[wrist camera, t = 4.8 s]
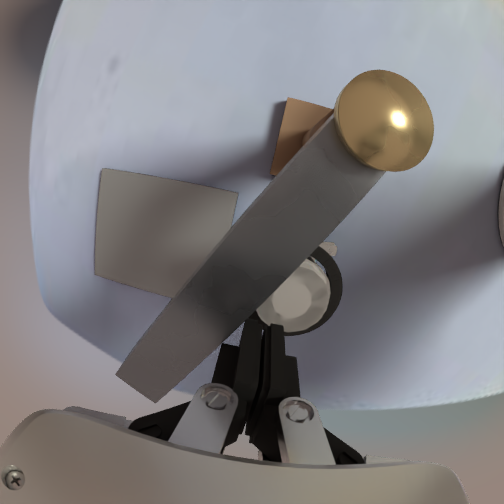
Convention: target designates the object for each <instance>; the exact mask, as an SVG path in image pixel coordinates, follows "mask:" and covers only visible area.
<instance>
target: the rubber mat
mask: <svg viewBox="0 0 504 504" xmlns="http://www.w3.org/2000/svg"><path fill="white" fill-rule="evenodd" d="M237 198H238V193H237V192H232V191H228V190H223V189H218V188H214V187H209V186H204V185H199V184H194V183H189V182H184V181H178V180H173V179H168V178H162V177H156V176H151V175H145V174H139V173H133V172H127V171H120V170H114V169H107V168H103V169H102V174H101V181H100V190H99V199H98V210H97V224H96V243H95V275H97V276H100V277H103V278H106V279H109V280H112V281H116V282H119V283H122V284H125V285H129V286H132V287H135V288H139V289H142V290H145V291H149V292H152V293H156V294H159V295H163V296H166V297H170V298H173V297H174V296H175V295H176V293H177V292H178V291H179V290H180V288H181V287H182V286H183V285H184V284H185V282H186V281H187V280H188V279H189V277H190V276H191V275H192V274H193V273H194V271H195V270H196V269H197V268H198V267H199V265H200V264H201V263H202V262H203V261H204V259H205V258H206V257H207V256H208V255H209V253H210V252H211V251H212V250H213V249H214V247H215V246H216V245H217V244H218V243H219V241H220V240H221V239H222V238H223V237H224V236H225V234H226V233H227V232H228V231H229V230H230V228H231V226H232V221H233V216H234V212H235V207H236V202H237Z"/></svg>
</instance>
